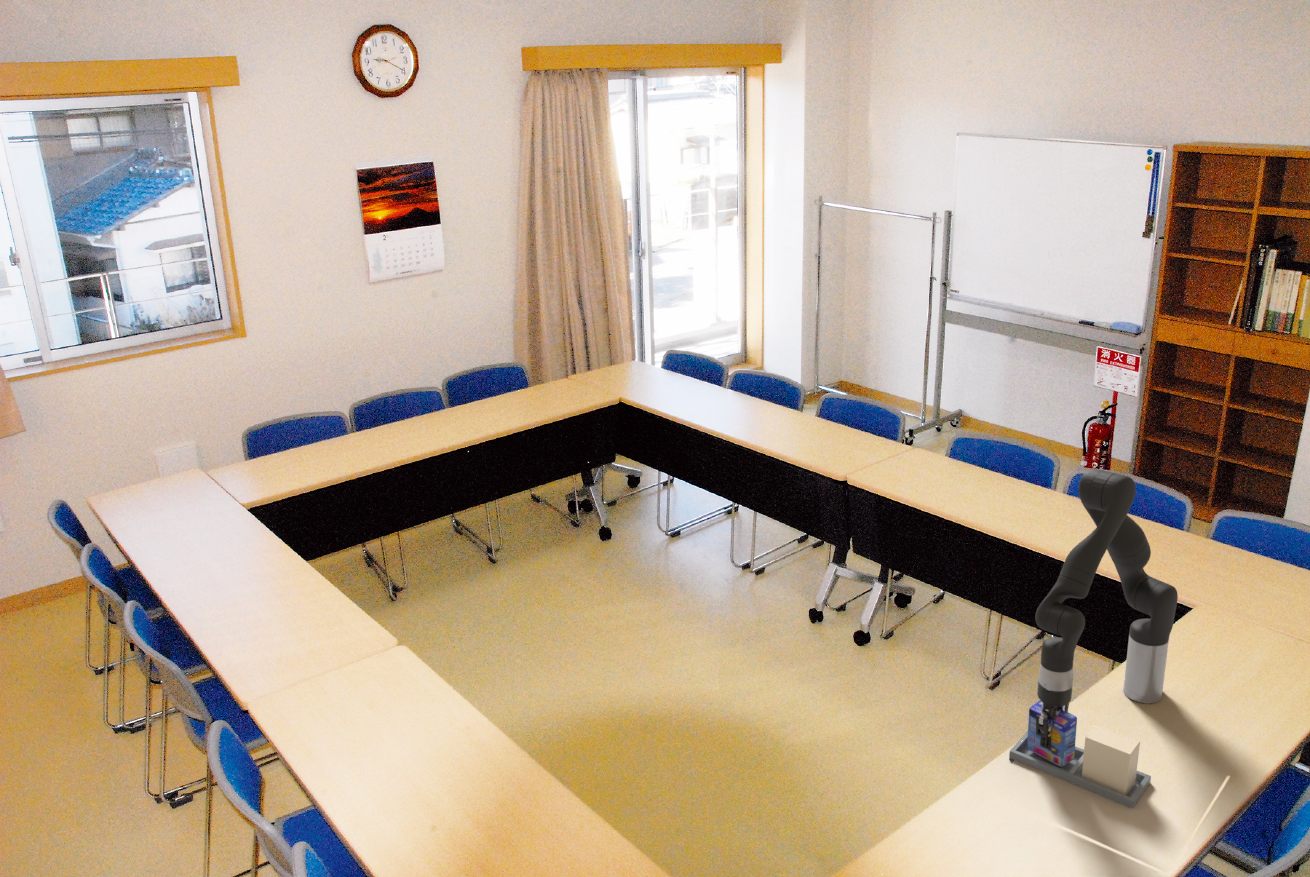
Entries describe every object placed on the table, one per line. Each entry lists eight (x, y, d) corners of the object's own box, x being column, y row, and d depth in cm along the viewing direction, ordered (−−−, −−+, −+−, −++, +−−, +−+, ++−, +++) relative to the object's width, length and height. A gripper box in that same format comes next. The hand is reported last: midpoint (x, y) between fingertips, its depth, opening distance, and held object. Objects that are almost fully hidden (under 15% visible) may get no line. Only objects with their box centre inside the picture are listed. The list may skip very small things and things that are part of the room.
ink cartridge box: (1024, 749, 253) (1028, 699, 248) (1038, 739, 257) (1041, 689, 251) (1061, 769, 246) (1066, 717, 241) (1075, 758, 249) (1079, 707, 244)
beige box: (1091, 766, 248) (1095, 724, 243) (1135, 783, 241) (1140, 740, 237) (1081, 779, 244) (1085, 737, 239) (1125, 797, 237) (1130, 754, 233)
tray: (1029, 736, 260) (1029, 728, 259) (1150, 784, 241) (1151, 775, 240) (1009, 759, 253) (1009, 750, 252) (1132, 810, 234) (1133, 801, 233)
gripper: (1052, 661, 251) (1048, 719, 257) (1026, 689, 241) (1022, 749, 247) (1083, 672, 246) (1078, 731, 252) (1058, 701, 237) (1053, 762, 243)
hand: (1050, 740), depth 250 cm, fingers closed on ink cartridge box, 5 cm apart
